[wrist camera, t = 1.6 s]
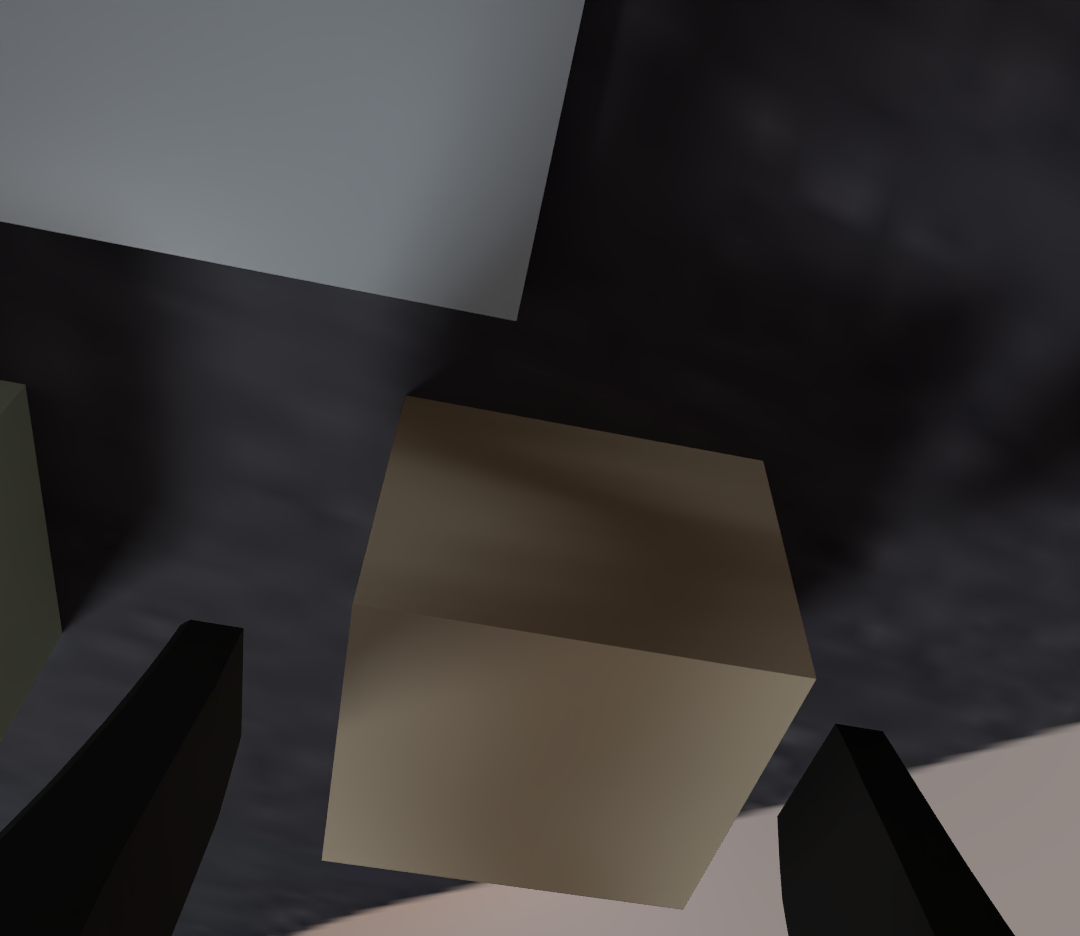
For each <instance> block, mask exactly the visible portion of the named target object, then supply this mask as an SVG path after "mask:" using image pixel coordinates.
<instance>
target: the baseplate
mask: <svg viewBox="0 0 1080 936" xmlns="http://www.w3.org/2000/svg"><path fill="white" fill-rule="evenodd" d="M584 2H585V0H0V221H1V222H6V223H11V224H17V225H22V226H27V227H32V228H37V229H43V230H48V231H53V232H58V233H63V234H68V235H74V236H79V237H84V238H89V239H94V240H99V241H105V242H110V243H115V244H120V245H125V246H130V247H136V248H141V249H146V250H151V251H156V252H161V253H167V254H172V255H177V256H182V257H187V258H192V259H198V260H203V261H208V262H213V263H218V264H223V265H229V266H234V267H239V268H244V269H249V270H254V271H260V272H265V273H270V274H275V275H280V276H285V277H291V278H296V279H301V280H306V281H311V282H316V283H322V284H327V285H332V286H337V287H342V288H348V289H353V290H358V291H363V292H368V293H373V294H379V295H384V296H389V297H394V298H399V299H404V300H410V301H415V302H420V303H425V304H430V305H435V306H441V307H446V308H451V309H456V310H461V311H466V312H472V313H477V314H482V315H487V316H492V317H497V318H503V319H508V320H513V321H517V316H518V311H519V307H520V302H521V297H522V293H523V288H524V283H525V279H526V274H527V269H528V264H529V260H530V255H531V250H532V246H533V241H534V236H535V232H536V227H537V222H538V218H539V213H540V208H541V204H542V199H543V194H544V190H545V185H546V180H547V176H548V171H549V166H550V162H551V157H552V152H553V147H554V143H555V138H556V133H557V129H558V124H559V119H560V115H561V110H562V105H563V101H564V96H565V91H566V87H567V82H568V77H569V73H570V68H571V63H572V59H573V54H574V49H575V45H576V40H577V35H578V31H579V26H580V21H581V16H582V12H583V7H584Z"/></svg>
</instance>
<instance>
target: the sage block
mask: <svg viewBox="0 0 1080 936" xmlns="http://www.w3.org/2000/svg"><path fill="white" fill-rule="evenodd" d="M61 634H62V628H61V621H60V615H59V608H58V601H57V594H56V588H55V581H54V574H53V567H52V561H51V554H50V547H49V540H48V534H47V527H46V520H45V513H44V507H43V500H42V493H41V487H40V480H39V473H38V466H37V460H36V453H35V446H34V439H33V433H32V426H31V419H30V412H29V406H28V399H27V392H26V385H25V384H19V383H13V382H8V381H2V380H0V743H1V741H2V739H3V738H4V736H5V734H6V732H7V730H8V729H9V727H10V725H11V723H12V722H13V720H14V718H15V716H16V714H17V713H18V711H19V709H20V707H21V705H22V704H23V702H24V700H25V698H26V697H27V695H28V693H29V691H30V689H31V688H32V686H33V684H34V682H35V681H36V679H37V677H38V675H39V673H40V672H41V670H42V668H43V666H44V664H45V663H46V661H47V659H48V657H49V656H50V654H51V652H52V650H53V648H54V647H55V645H56V643H57V641H58V640H59V638H60V636H61Z"/></svg>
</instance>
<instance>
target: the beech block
mask: <svg viewBox="0 0 1080 936" xmlns="http://www.w3.org/2000/svg"><path fill="white" fill-rule="evenodd" d="M815 680H816V676H815V672H814V668H813V664H812V660H811V655H810V651H809V647H808V643H807V639H806V635H805V631H804V627H803V623H802V619H801V614H800V610H799V606H798V602H797V598H796V594H795V590H794V586H793V582H792V577H791V573H790V569H789V565H788V561H787V557H786V553H785V549H784V545H783V541H782V536H781V532H780V528H779V524H778V520H777V516H776V512H775V508H774V504H773V500H772V495H771V491H770V487H769V483H768V479H767V475H766V471H765V467H764V463H763V461H761V460H755V459H750V458H744V457H739V456H734V455H728V454H723V453H717V452H712V451H706V450H701V449H695V448H690V447H685V446H679V445H674V444H668V443H663V442H657V441H652V440H646V439H641V438H636V437H630V436H625V435H619V434H614V433H608V432H603V431H597V430H592V429H587V428H581V427H576V426H570V425H565V424H559V423H554V422H548V421H543V420H538V419H532V418H527V417H521V416H516V415H510V414H505V413H499V412H494V411H489V410H483V409H478V408H472V407H467V406H461V405H456V404H450V403H445V402H439V401H434V400H429V399H423V398H418V397H412V396H407V395H405V399H404V403H403V407H402V411H401V415H400V419H399V423H398V427H397V431H396V435H395V439H394V443H393V447H392V451H391V455H390V459H389V462H388V466H387V470H386V474H385V478H384V482H383V486H382V490H381V494H380V498H379V502H378V506H377V510H376V514H375V518H374V522H373V526H372V530H371V534H370V538H369V542H368V546H367V550H366V554H365V557H364V561H363V565H362V569H361V573H360V577H359V581H358V585H357V589H356V593H355V597H354V601H353V606H352V615H351V623H350V631H349V640H348V648H347V656H346V665H345V673H344V681H343V689H342V698H341V706H340V714H339V723H338V731H337V739H336V748H335V756H334V764H333V772H332V781H331V789H330V797H329V806H328V814H327V822H326V831H325V839H324V847H323V855H322V860H323V861H331V862H338V863H345V864H352V865H360V866H367V867H374V868H382V869H389V870H396V871H404V872H411V873H418V874H426V875H433V876H440V877H448V878H455V879H462V880H469V881H477V882H484V883H491V884H499V885H506V886H513V887H514V886H515V887H521V888H528V889H535V890H543V891H550V892H557V893H565V894H572V895H579V896H587V897H594V898H601V899H609V900H616V901H624V902H630V903H638V904H645V905H652V906H660V907H667V908H674V909H682V910H683V909H684V907H685V905H686V904H687V901H688V900H689V898H690V896H691V895H692V893H693V891H694V889H695V888H696V886H697V885H698V883H699V881H700V879H701V878H702V876H703V874H704V873H705V871H706V869H707V867H708V866H709V864H710V862H711V860H712V859H713V857H714V855H715V853H716V852H717V850H718V848H719V846H720V845H721V843H722V841H723V839H724V838H725V836H726V834H727V833H728V831H729V829H730V827H731V826H732V824H733V822H734V821H735V819H736V817H737V815H738V814H739V812H740V810H741V808H742V807H743V805H744V803H745V802H746V800H747V798H748V796H749V795H750V793H751V791H752V789H753V788H754V786H755V784H756V782H757V781H758V779H759V777H760V776H761V774H762V772H763V770H764V769H765V767H766V765H767V763H768V762H769V760H770V758H771V757H772V755H773V753H774V751H775V750H776V748H777V746H778V744H779V743H780V741H781V739H782V737H783V736H784V734H785V732H786V731H787V729H788V727H789V725H790V724H791V722H792V720H793V718H794V717H795V715H796V713H797V712H798V710H799V708H800V706H801V705H802V703H803V701H804V699H805V698H806V696H807V694H808V692H809V691H810V689H811V687H812V686H813V684H814V682H815Z"/></svg>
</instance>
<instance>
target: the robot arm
mask: <svg viewBox="0 0 1080 936" xmlns="http://www.w3.org/2000/svg"><path fill="white" fill-rule="evenodd" d="M242 673H243V628H238V627H232V626H226V625H220V624H213V623H207V622H201V621H195V620H189V621H187V622H185V623H183V624H181V625H180V626H179V628H178V629H177V631H176V632H175V633H174V635H173V636H172V638H171V639H170V641H169V642H168V643H167V645H166V646H165V647H164V649H163V650H162V651H161V653H160V654H159V655H158V657H157V658H156V659H155V660H154V662H153V663H152V664H151V666H150V667H149V668H148V669H147V671H146V672H145V673H144V675H143V676H142V677H141V678H140V680H139V681H138V682H137V683H136V685H135V686H134V687H133V688H132V689H131V691H130V692H129V693H128V694H127V695H126V697H125V698H124V699H123V700H122V701H121V703H120V704H119V705H118V706H117V707H116V709H115V710H114V711H113V712H112V713H111V715H110V716H109V717H108V718H107V719H106V720H105V722H104V723H103V724H102V725H101V726H100V727H99V728H98V729H97V730H96V732H95V733H94V734H93V735H92V736H91V737H90V738H89V739H88V740H87V742H86V743H85V744H84V745H83V746H82V747H81V748H80V749H79V751H78V752H77V753H76V754H75V755H74V756H73V757H72V758H71V759H70V761H69V762H68V763H67V764H66V765H65V766H64V767H63V768H62V770H61V771H60V772H59V773H58V774H57V775H56V776H55V777H54V778H53V779H52V780H51V781H50V782H49V783H48V784H47V786H46V787H45V788H44V789H43V790H42V791H41V792H40V793H39V794H38V795H37V796H36V797H35V798H34V799H33V800H32V801H31V802H30V803H29V804H28V805H27V806H26V807H25V808H24V809H23V810H22V811H21V812H20V813H19V814H18V815H17V816H16V817H15V818H14V819H13V820H12V821H11V822H10V823H9V824H8V825H7V826H6V827H5V828H4V829H3V830H2V831H1V832H0V936H172V933H173V931H174V928H175V926H176V923H177V921H178V918H179V916H180V913H181V911H182V908H183V906H184V903H185V901H186V898H187V896H188V893H189V891H190V888H191V886H192V883H193V881H194V878H195V876H196V873H197V871H198V868H199V866H200V863H201V860H202V858H203V855H204V853H205V850H206V848H207V845H208V843H209V840H210V838H211V835H212V832H213V830H214V827H215V825H216V822H217V820H218V816H219V813H220V809H221V806H222V802H223V799H224V795H225V792H226V788H227V785H228V781H229V778H230V774H231V771H232V767H233V763H234V760H235V756H236V752H237V749H238V745H239V742H240V738H241V719H242ZM777 817H778V837H779V859H780V874H781V887H782V900H783V906H784V912H785V918H786V924H787V930H788V935H789V936H1015V935H1014V934H1013V932H1012V931H1011V929H1010V928H1009V927H1008V925H1007V924H1006V922H1005V921H1004V920H1003V918H1002V916H1001V915H1000V913H999V912H998V910H997V909H996V907H995V906H994V904H993V903H992V901H991V900H990V898H989V897H988V896H987V894H986V893H985V891H984V890H983V888H982V887H981V885H980V883H979V882H978V881H977V879H976V878H975V876H974V875H973V873H972V872H971V870H970V868H969V867H968V866H967V864H966V862H965V861H964V860H963V858H962V856H961V855H960V853H959V852H958V850H957V848H956V847H955V845H954V844H953V842H952V841H951V839H950V837H949V836H948V834H947V833H946V831H945V830H944V828H943V826H942V825H941V823H940V822H939V820H938V819H937V817H936V815H935V814H934V812H933V811H932V809H931V807H930V806H929V804H928V803H927V801H926V799H925V798H924V796H923V795H922V793H921V792H920V790H919V788H918V787H917V785H916V783H915V782H914V780H913V779H912V777H911V775H910V774H909V772H908V771H907V769H906V767H905V766H904V764H903V763H902V761H901V759H900V758H899V756H898V755H897V753H896V751H895V750H894V748H893V747H892V745H891V744H890V742H889V740H888V739H887V737H886V736H885V734H884V733H883V731H877V730H871V729H865V728H859V727H852V726H846V725H840V724H835V725H834V727H833V729H832V730H831V732H830V733H829V735H828V737H827V738H826V740H825V741H824V743H823V745H822V746H821V748H820V749H819V751H818V753H817V754H816V756H815V757H814V759H813V761H812V762H811V764H810V765H809V767H808V769H807V770H806V772H805V773H804V775H803V777H802V778H801V780H800V781H799V783H798V785H797V786H796V788H795V789H794V791H793V793H792V794H791V796H790V797H789V799H788V801H787V802H786V804H785V805H784V807H783V808H782V810H781V812H780V813H779V815H778V816H777Z"/></svg>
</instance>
